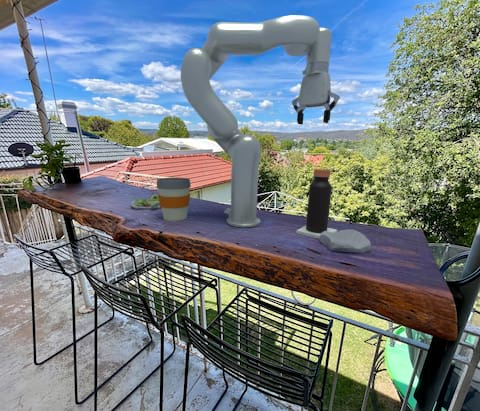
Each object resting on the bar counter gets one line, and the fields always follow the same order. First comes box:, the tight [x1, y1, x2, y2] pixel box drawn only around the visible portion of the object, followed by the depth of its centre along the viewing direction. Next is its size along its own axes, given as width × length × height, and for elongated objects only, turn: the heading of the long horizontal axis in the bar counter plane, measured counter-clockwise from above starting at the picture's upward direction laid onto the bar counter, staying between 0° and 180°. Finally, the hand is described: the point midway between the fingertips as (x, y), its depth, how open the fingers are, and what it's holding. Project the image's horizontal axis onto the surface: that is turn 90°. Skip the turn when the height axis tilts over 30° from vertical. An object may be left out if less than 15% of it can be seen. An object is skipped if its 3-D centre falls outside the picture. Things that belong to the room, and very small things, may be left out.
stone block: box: [319, 228, 372, 254], centre depth 69 cm, size 12×5×10 cm
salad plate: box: [130, 193, 162, 210], centre depth 112 cm, size 19×18×5 cm
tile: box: [295, 225, 338, 240], centre depth 80 cm, size 10×10×1 cm
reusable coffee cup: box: [156, 177, 192, 222], centre depth 93 cm, size 13×12×15 cm
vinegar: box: [305, 168, 333, 233], centre depth 78 cm, size 7×7×20 cm
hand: (312, 123), depth 87 cm, fingers open, 9 cm apart
